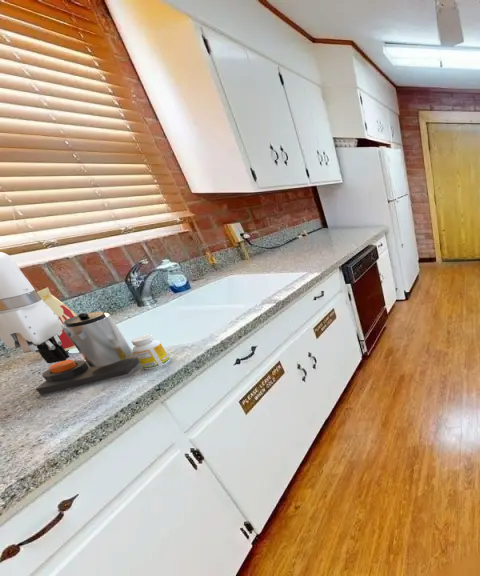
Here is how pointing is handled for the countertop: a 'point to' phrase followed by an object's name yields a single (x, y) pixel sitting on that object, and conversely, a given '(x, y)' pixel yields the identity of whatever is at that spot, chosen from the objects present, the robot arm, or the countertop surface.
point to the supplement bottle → (149, 352)
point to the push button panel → (85, 374)
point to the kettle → (97, 338)
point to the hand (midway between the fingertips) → (59, 360)
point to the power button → (62, 366)
